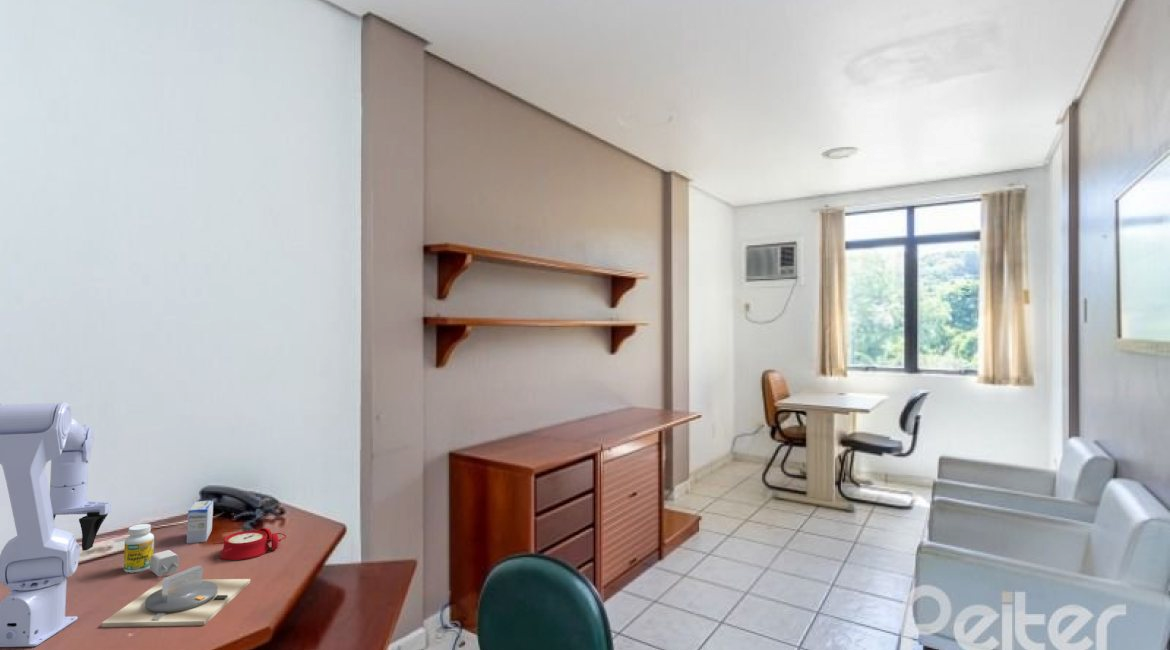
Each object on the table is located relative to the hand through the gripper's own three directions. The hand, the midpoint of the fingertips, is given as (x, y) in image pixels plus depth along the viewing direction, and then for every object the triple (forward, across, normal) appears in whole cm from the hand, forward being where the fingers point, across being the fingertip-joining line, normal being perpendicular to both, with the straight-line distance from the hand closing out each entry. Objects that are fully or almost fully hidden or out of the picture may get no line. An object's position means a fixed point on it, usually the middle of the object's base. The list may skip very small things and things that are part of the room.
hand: (66, 549), depth 117 cm
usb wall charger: (+10, -14, -9) cm, 20 cm away
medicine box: (+10, -12, -31) cm, 35 cm away
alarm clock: (+10, -28, -21) cm, 36 cm away
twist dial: (+9, -24, +6) cm, 27 cm away
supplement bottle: (+10, -7, -12) cm, 17 cm away
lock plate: (+9, -24, +6) cm, 27 cm away
